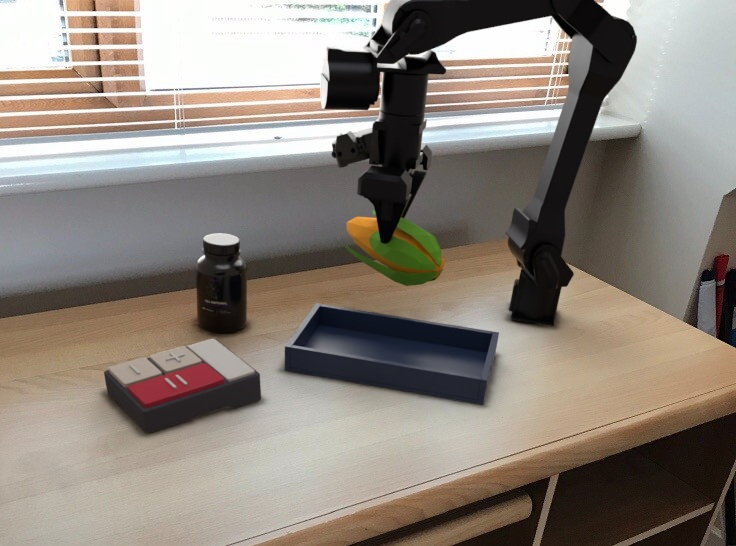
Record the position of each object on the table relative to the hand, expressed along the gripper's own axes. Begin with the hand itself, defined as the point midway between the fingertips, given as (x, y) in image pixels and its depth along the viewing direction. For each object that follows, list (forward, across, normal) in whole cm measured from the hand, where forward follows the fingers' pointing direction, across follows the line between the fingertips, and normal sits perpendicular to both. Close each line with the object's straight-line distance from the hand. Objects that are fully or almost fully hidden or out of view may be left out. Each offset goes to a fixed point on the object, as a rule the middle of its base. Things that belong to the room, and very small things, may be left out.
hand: (390, 234), depth 116 cm
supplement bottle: (+12, +11, -21) cm, 26 cm away
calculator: (+12, +32, -17) cm, 38 cm away
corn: (+5, -1, 0) cm, 5 cm away
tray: (+12, +13, +4) cm, 19 cm away
